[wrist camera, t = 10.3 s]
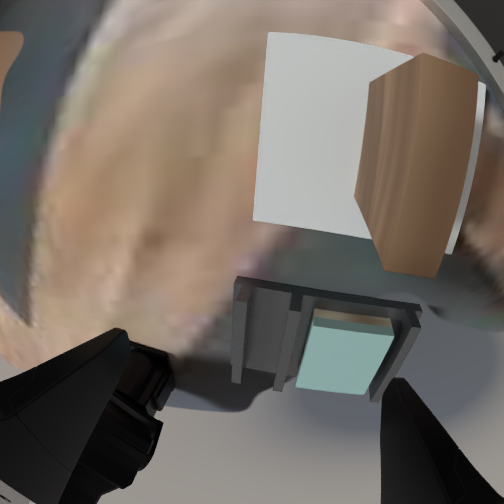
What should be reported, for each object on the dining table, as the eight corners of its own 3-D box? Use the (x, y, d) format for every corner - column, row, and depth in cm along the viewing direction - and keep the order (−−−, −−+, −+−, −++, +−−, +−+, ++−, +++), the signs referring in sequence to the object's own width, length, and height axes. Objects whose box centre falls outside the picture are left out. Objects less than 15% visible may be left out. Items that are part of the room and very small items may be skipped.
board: (255, 215, 20) (252, 220, 19) (270, 36, 14) (268, 31, 13) (446, 248, 18) (451, 254, 17) (478, 85, 12) (485, 84, 11)
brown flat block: (353, 196, 17) (384, 270, 9) (369, 82, 14) (422, 52, 6) (384, 201, 16) (435, 278, 9) (401, 90, 13) (478, 75, 5)
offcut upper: (296, 378, 23) (295, 387, 22) (313, 316, 20) (313, 325, 19) (362, 385, 22) (363, 394, 21) (392, 327, 19) (394, 336, 18)
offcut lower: (297, 369, 24) (296, 378, 23) (313, 308, 21) (313, 316, 20) (362, 377, 23) (362, 385, 22) (390, 318, 20) (392, 327, 19)
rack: (233, 356, 26) (224, 380, 24) (237, 276, 22) (226, 298, 20) (382, 378, 24) (385, 402, 22) (419, 304, 20) (429, 328, 17)
